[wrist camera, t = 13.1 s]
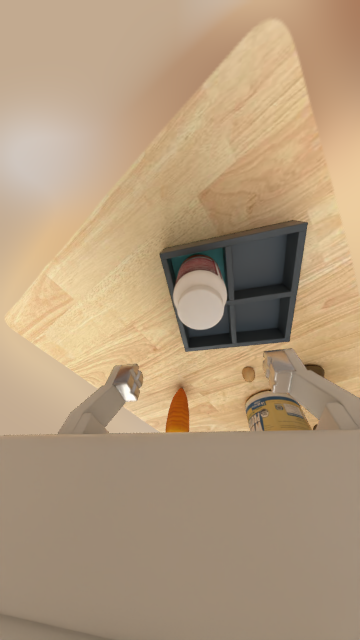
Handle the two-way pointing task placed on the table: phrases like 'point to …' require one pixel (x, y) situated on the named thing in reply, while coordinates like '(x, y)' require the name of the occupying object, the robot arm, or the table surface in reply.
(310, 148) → the table surface
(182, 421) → the carrot
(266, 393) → the supplement tub
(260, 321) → the divided tray
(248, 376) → the potato
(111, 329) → the table surface
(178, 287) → the pill bottle
